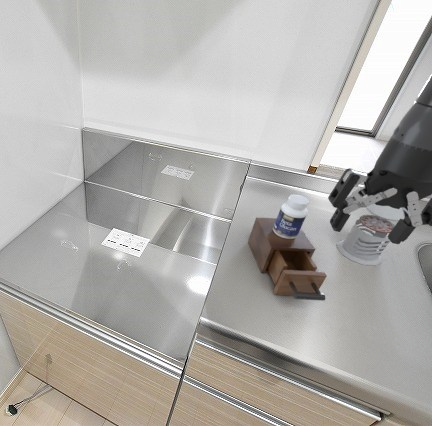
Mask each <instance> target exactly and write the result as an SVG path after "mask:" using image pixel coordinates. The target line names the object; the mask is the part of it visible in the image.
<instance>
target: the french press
mask: <svg viewBox="0 0 432 426" xmlns="http://www.w3.org/2000/svg"><path fill="white" fill-rule="evenodd" d="M365 209H366V211H368V213H370V214H363V215H360V216H359V219H356V221H355V222H354V224H353V225H352V227H351V229H350V230H349V232H348V234H347V236H346V237H345V239H343V240H340V241H338V242H337V244H336V248H337V251H339V253H340V254H341V255H342V256H343V257H345V258H347V259H348V260H349V261H352V262H354V263H357V264H360V265H365V266H377V265H379V264H382V260H383V258H382V256H381V254H382V253H383V251H384V250H385V249H386V247H388V244H389V243H392V242H391V241H390V240H389V239H388V235H389V233H390V232H391V231H392V229H393V228H394V227H395V224H394V223H393V222H398V221H399V220H400V219H404V215H403V211H402V208H400V209H395V208H392V207H390V206H379V205H376V204H375V203H374V204H372V205H370V206H368V207H365ZM366 232H367V233H366Z"/></svg>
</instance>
